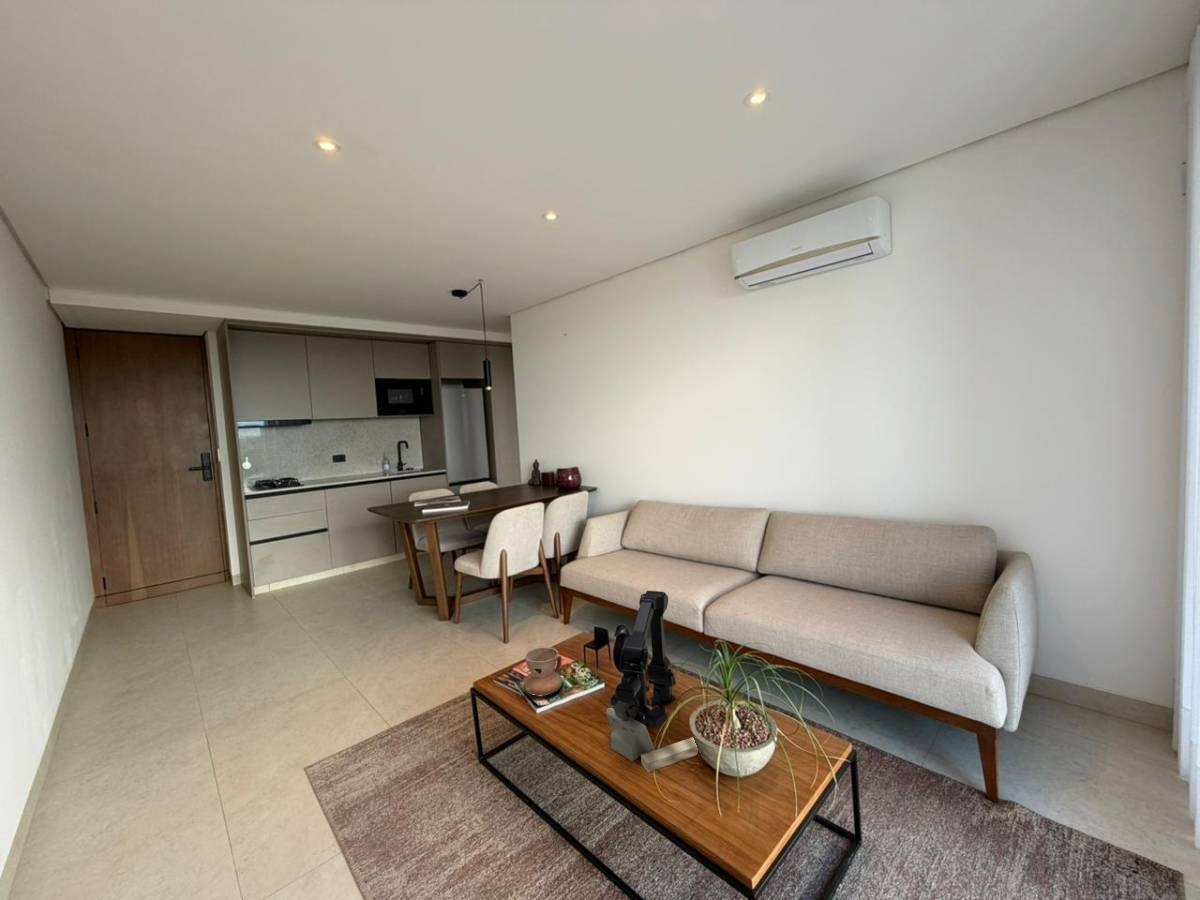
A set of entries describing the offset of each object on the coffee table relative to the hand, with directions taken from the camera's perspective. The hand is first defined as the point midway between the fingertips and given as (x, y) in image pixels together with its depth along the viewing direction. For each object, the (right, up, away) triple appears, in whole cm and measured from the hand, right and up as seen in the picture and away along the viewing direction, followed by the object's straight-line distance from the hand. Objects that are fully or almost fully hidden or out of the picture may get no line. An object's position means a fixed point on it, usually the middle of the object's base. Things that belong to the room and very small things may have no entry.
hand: (639, 734), depth 150 cm
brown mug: (-33, -4, +36) cm, 49 cm away
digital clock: (-3, -4, -1) cm, 5 cm away
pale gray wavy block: (+9, -4, -6) cm, 11 cm away
